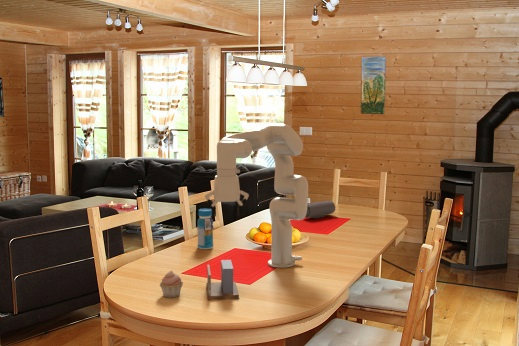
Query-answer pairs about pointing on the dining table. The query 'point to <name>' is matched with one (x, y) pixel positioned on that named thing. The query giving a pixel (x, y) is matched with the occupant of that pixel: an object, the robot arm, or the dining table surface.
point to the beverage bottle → (205, 229)
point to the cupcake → (171, 285)
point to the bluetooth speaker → (320, 209)
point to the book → (227, 276)
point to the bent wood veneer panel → (219, 289)
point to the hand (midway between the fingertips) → (227, 215)
